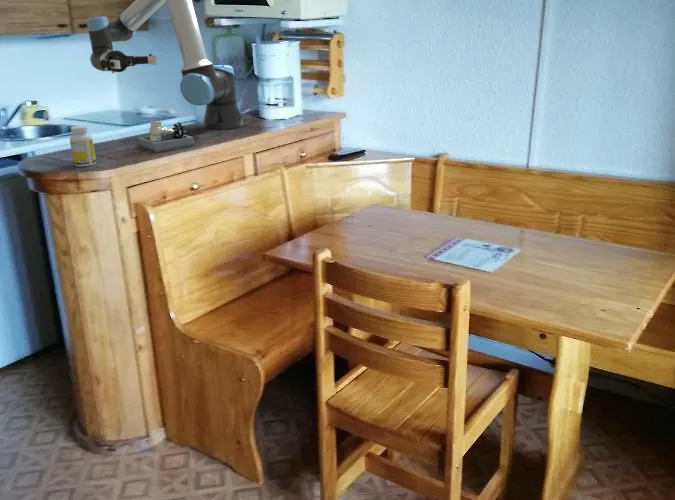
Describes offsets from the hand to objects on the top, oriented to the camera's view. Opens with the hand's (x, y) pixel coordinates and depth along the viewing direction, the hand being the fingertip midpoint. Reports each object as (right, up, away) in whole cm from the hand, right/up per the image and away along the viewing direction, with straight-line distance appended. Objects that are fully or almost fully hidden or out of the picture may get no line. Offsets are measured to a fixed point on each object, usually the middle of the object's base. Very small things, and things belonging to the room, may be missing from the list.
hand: (138, 62), depth 224 cm
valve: (+10, -27, -2) cm, 29 cm away
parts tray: (+10, -29, 0) cm, 30 cm away
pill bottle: (-10, -38, -22) cm, 45 cm away
